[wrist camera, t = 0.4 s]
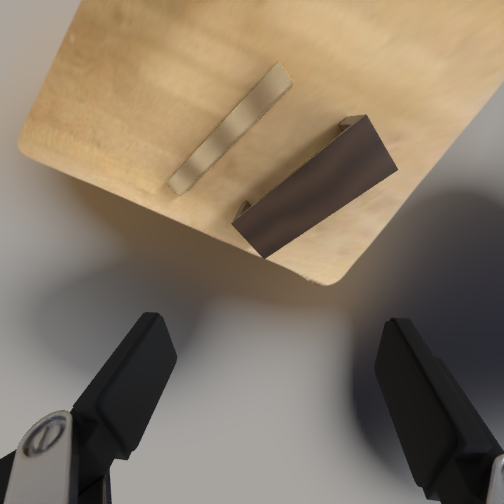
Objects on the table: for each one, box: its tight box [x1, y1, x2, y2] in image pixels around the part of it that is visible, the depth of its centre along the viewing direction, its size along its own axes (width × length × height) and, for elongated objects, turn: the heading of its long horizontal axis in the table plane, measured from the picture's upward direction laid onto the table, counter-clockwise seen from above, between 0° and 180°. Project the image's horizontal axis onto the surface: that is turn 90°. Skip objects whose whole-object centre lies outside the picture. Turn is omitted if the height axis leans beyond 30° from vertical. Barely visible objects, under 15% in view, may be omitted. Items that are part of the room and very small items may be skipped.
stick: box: [166, 61, 293, 196], centre depth 36 cm, size 24×3×4 cm, turn 131°
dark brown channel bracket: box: [231, 115, 398, 259], centre depth 36 cm, size 8×22×9 cm, turn 131°
